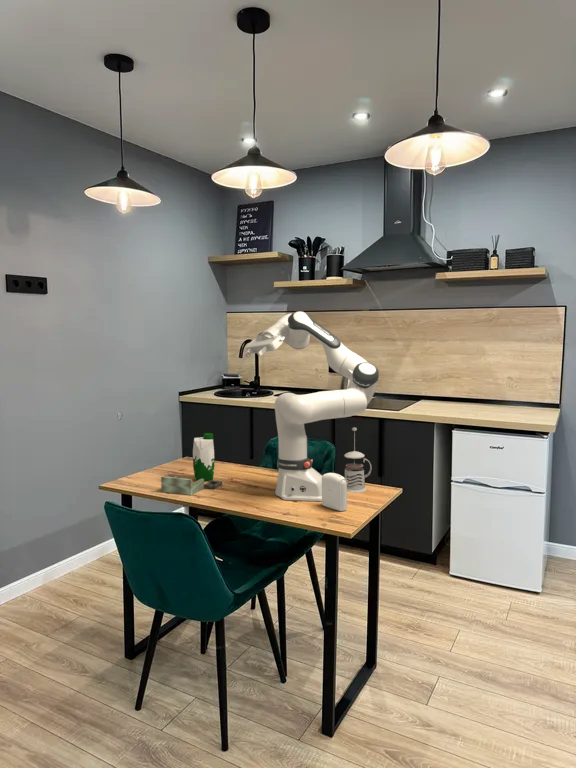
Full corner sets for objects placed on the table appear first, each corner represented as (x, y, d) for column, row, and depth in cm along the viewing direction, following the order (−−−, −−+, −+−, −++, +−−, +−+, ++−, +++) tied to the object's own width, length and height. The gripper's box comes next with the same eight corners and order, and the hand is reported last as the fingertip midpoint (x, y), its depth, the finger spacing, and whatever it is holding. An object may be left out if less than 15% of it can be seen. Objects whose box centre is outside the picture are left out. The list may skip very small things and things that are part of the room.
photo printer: (320, 505, 190) (319, 471, 189) (328, 503, 193) (328, 470, 192) (340, 512, 182) (340, 477, 181) (349, 510, 185) (349, 475, 184)
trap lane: (222, 485, 219) (222, 470, 219) (201, 496, 203) (201, 481, 203) (174, 480, 227) (174, 466, 227) (151, 490, 211) (151, 476, 211)
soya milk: (215, 481, 224) (214, 435, 223) (193, 483, 223) (192, 436, 221) (214, 476, 233) (213, 431, 231) (193, 477, 231) (192, 432, 230)
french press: (341, 485, 216) (340, 425, 214) (369, 485, 216) (369, 425, 214) (343, 492, 206) (343, 429, 205) (373, 492, 206) (373, 429, 204)
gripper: (290, 341, 229) (270, 359, 222) (262, 345, 245) (243, 362, 238) (283, 329, 227) (262, 347, 220) (256, 334, 243) (235, 351, 236)
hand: (252, 355), depth 229 cm, fingers open, 8 cm apart
